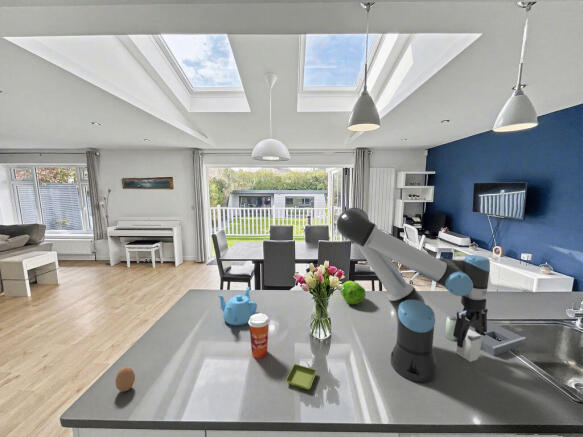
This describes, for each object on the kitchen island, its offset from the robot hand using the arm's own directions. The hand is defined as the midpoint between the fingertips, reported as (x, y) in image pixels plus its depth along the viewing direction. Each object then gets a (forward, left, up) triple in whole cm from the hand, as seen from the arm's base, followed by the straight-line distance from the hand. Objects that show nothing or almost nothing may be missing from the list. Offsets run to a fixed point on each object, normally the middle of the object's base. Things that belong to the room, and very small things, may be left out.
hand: (468, 351), depth 94 cm
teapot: (-82, +59, -3) cm, 101 cm away
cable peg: (+5, +11, -2) cm, 12 cm away
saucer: (-66, +11, -3) cm, 67 cm away
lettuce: (-16, +57, -2) cm, 59 cm away
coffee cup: (-77, +29, -2) cm, 82 cm away
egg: (-122, +26, -2) cm, 125 cm away
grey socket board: (+20, +6, -2) cm, 21 cm away
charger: (0, 0, -2) cm, 2 cm away
